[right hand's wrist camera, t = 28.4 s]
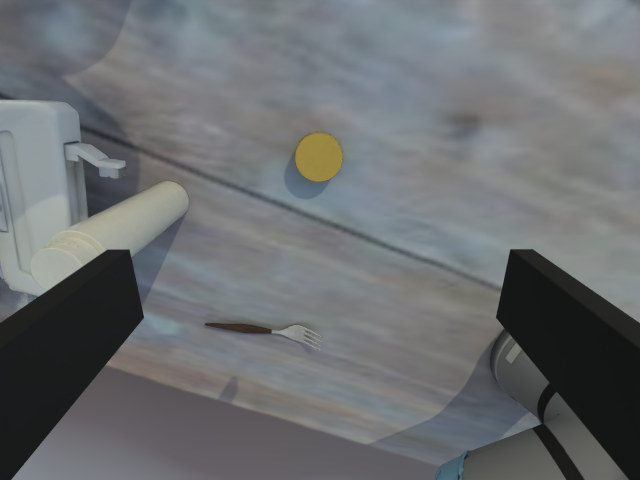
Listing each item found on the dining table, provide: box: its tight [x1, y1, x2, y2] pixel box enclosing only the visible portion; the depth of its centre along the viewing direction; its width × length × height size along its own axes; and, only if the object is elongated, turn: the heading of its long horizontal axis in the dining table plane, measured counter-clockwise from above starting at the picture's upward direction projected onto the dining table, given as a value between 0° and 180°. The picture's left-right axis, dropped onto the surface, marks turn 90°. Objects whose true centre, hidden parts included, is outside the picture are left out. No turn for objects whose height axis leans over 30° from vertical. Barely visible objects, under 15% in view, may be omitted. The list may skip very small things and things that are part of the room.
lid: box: [295, 132, 343, 182], centre depth 39 cm, size 5×5×2 cm
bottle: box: [30, 181, 189, 291], centre depth 33 cm, size 5×5×19 cm
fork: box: [205, 323, 323, 351], centre depth 48 cm, size 3×16×2 cm, turn 82°
